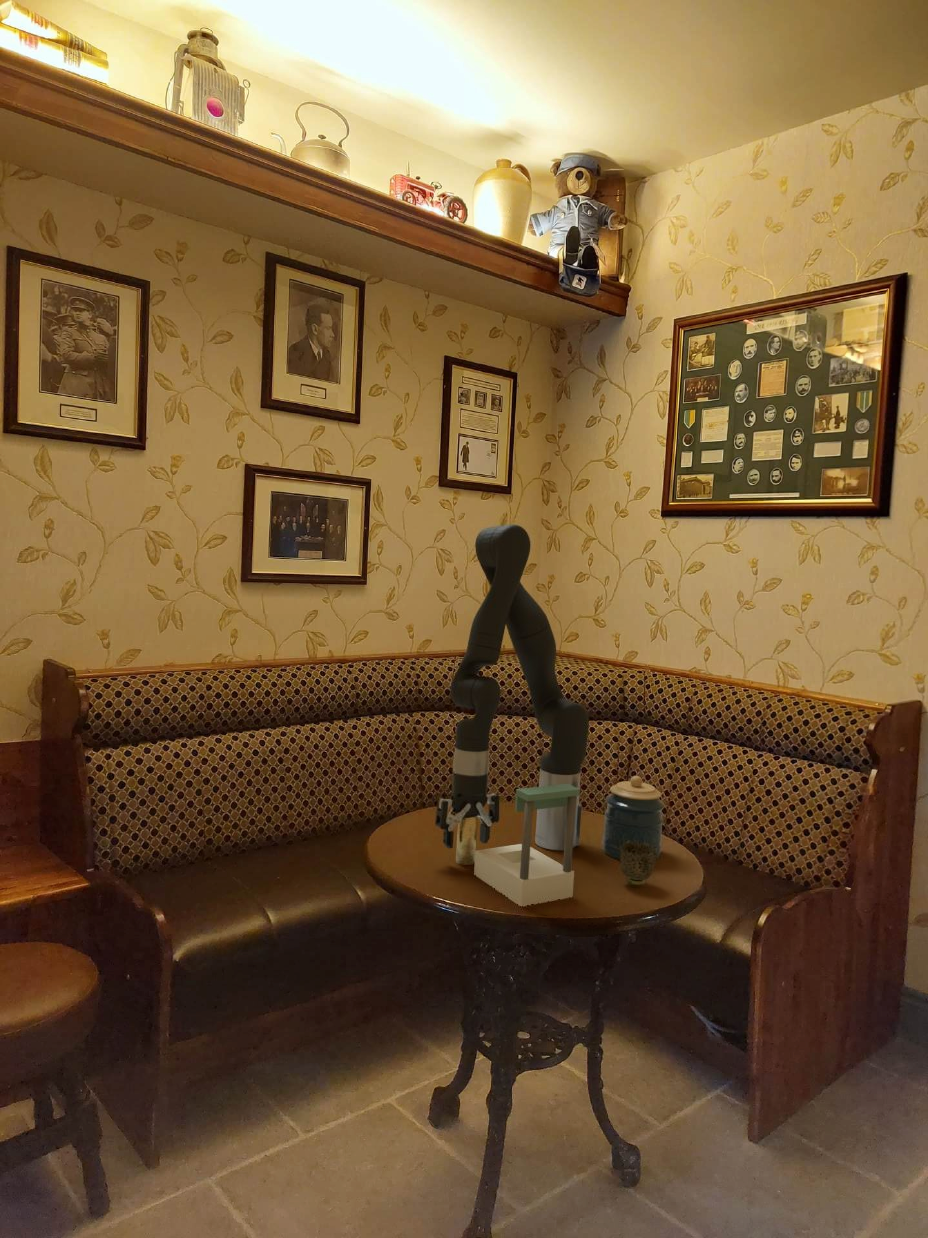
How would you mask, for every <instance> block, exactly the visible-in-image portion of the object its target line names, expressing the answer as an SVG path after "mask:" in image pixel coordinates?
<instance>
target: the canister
mask: <svg viewBox="0 0 928 1238" xmlns="http://www.w3.org/2000/svg"><path fill="white" fill-rule="evenodd" d="M609 791H610V792H611V793H610V794H608V795H607V796H606V797H605V801H606V804H607V807H606V808H607V809H605V811H604V827H603V837H602V842H601V843H602V848H603V849H602V850H603V852H604V853H605V854H606V855H608V856H609V857H611V858H615V859H617V860H620V847H621V846H623V842H626V843H627V842H628V841H631V842H633V844H635V843H636V842H638V843H639V846H640V845H641V844H642V843H643V842H644V843H645V844H647V843H648V844H649V845H650V847H651V846H652V845H653V846H654V848H656V847H657V854H656V859H655V861H657V860H658V859H659V858H660V854H661V852H662V843H661V842H662V833H663V832H662V830H663V829H662V828H663V822H664V818H663V816H662V811H663V809H664V808H665V803H664V802H663V801H662V800H661V799H660V798H661V797H662V793H661V791H659V790H658V789H657V788H656V787H655V786H653V785H651V784H649V783H645V782H643V779H642V777H641V776H639V775H633V776H632V777H631V778H630V781H629V780H627V781H619V782H617V783H616V784H614V785H612V786H611V787H610V788H609ZM620 844H621V846H620Z"/></svg>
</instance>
